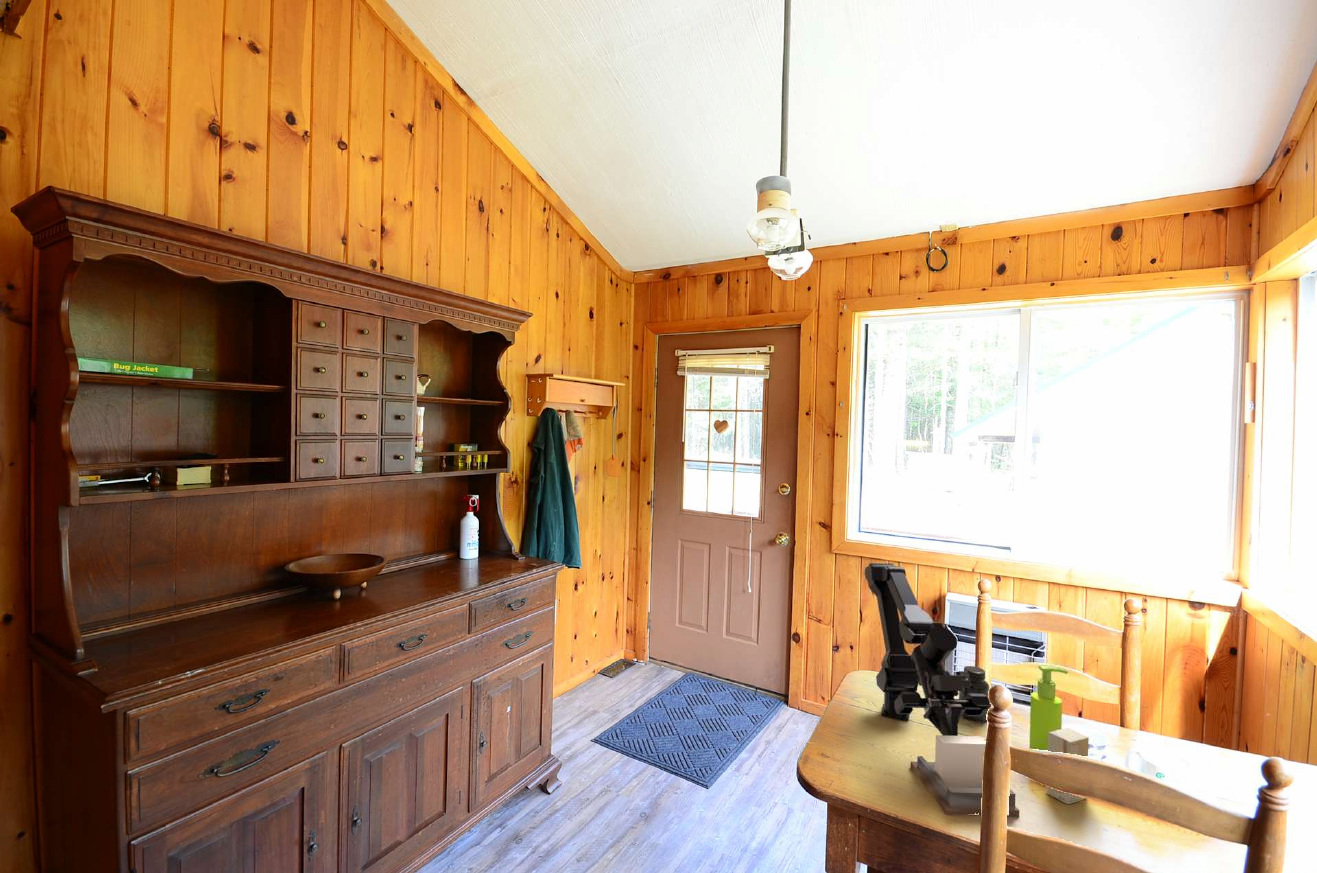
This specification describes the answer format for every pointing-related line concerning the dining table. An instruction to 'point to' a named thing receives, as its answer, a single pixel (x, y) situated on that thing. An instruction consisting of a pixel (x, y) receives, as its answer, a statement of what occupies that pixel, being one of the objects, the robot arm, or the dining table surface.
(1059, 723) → the soap dispenser
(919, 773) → the press base
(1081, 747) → the skincare box
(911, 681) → the robot arm
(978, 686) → the supplement bottle
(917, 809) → the dining table surface
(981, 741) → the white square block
